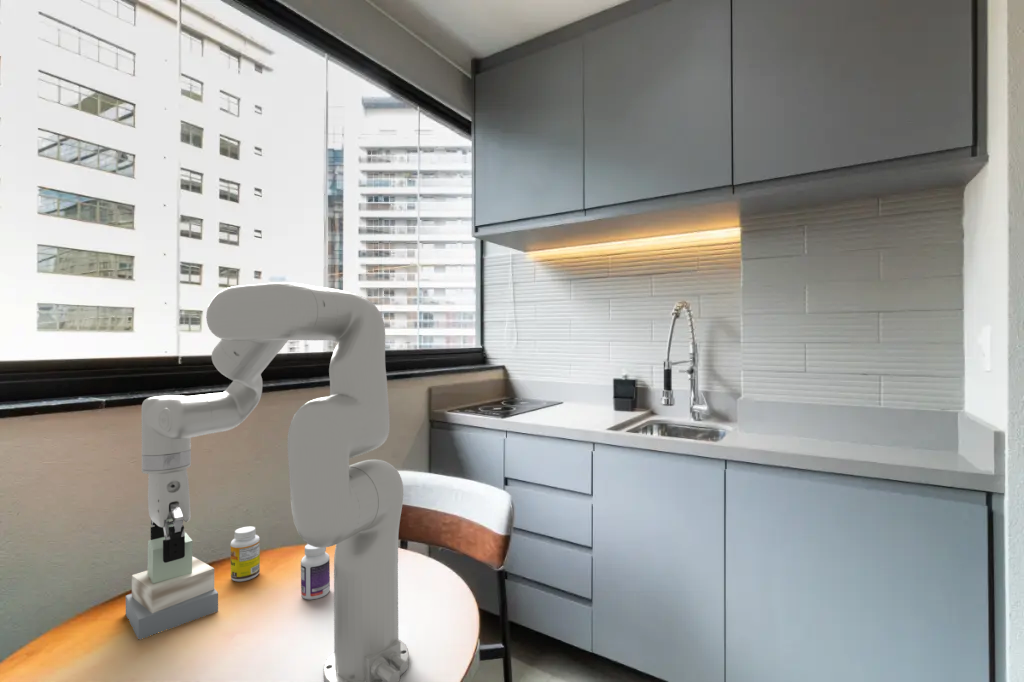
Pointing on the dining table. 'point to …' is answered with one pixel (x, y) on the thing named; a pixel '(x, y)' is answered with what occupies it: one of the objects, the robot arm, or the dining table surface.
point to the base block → (169, 613)
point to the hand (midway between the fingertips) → (167, 552)
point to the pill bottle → (315, 573)
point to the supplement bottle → (245, 554)
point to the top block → (172, 587)
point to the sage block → (170, 569)
